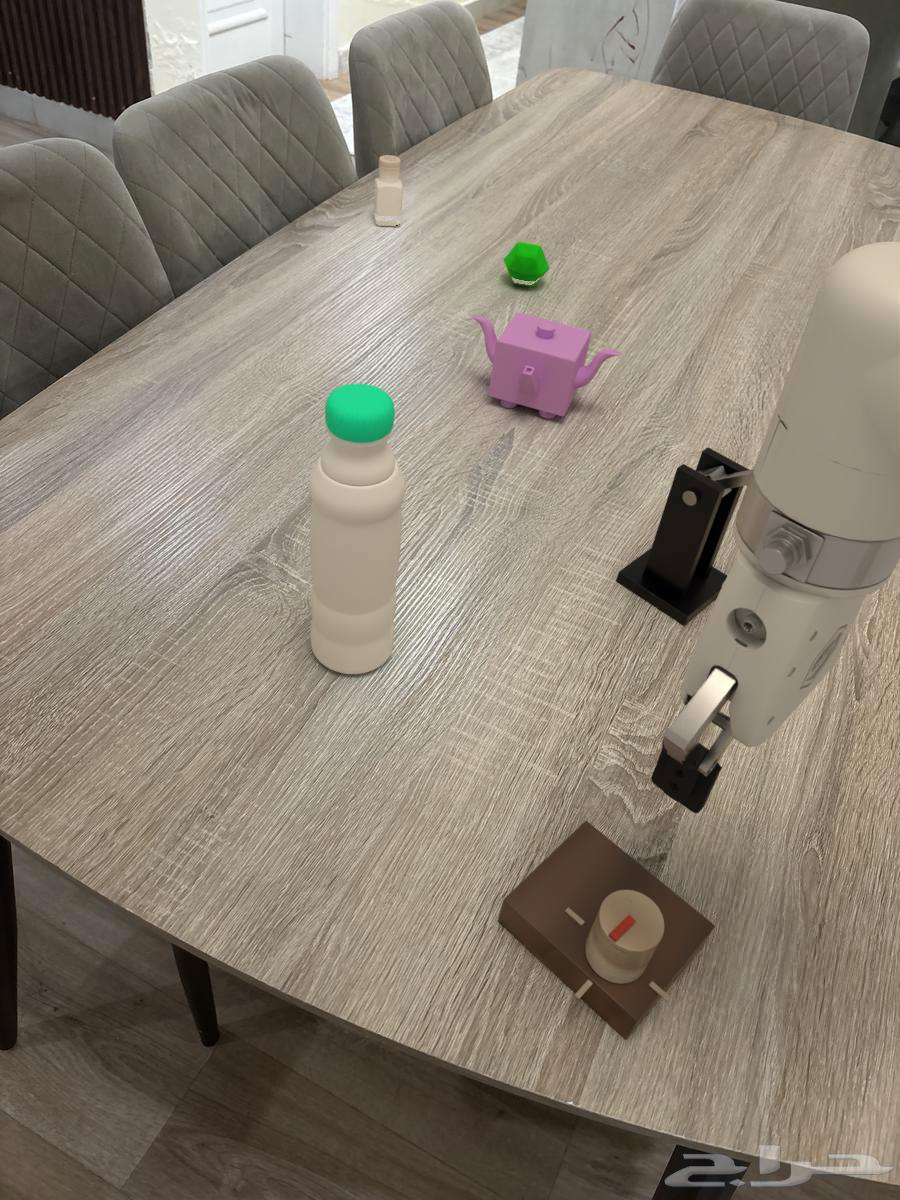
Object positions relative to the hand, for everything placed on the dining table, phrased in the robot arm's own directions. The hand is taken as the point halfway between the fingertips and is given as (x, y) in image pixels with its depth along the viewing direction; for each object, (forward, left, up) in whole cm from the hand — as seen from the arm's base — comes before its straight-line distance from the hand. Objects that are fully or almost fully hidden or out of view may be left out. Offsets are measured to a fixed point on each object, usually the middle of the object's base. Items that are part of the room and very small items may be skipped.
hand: (720, 747), depth 56 cm
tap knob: (-1, +8, -14) cm, 16 cm away
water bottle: (+32, +1, -17) cm, 36 cm away
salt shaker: (+96, -64, -17) cm, 116 cm away
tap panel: (+1, +6, -17) cm, 18 cm away
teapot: (+48, -42, -17) cm, 66 cm away
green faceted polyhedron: (+70, -67, -17) cm, 98 cm away
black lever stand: (+18, -28, -17) cm, 37 cm away
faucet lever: (+11, -28, -1) cm, 31 cm away
